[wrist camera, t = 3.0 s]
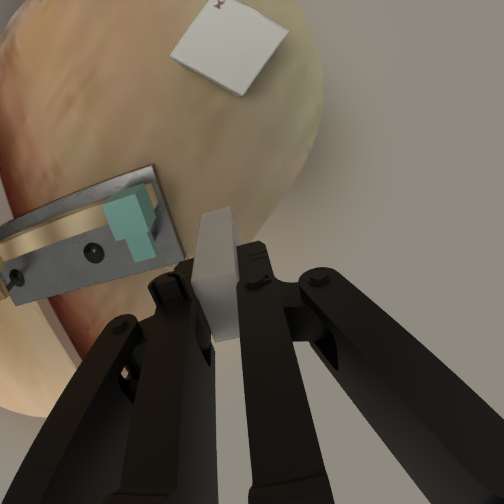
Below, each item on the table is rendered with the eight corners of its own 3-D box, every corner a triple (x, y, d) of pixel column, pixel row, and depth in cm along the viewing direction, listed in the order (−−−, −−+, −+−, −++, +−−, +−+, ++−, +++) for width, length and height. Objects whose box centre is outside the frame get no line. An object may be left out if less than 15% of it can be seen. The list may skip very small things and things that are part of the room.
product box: (179, 66, 25) (166, 55, 18) (216, 12, 23) (216, -13, 16) (237, 98, 27) (243, 98, 20) (274, 45, 25) (292, 30, 18)
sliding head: (140, 243, 30) (128, 270, 26) (119, 187, 28) (101, 205, 23) (169, 235, 30) (161, 261, 26) (148, 177, 28) (135, 193, 23)
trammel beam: (6, 284, 31) (-14, 307, 27) (-15, 243, 28) (-38, 263, 24) (169, 234, 31) (161, 258, 26) (149, 177, 28) (137, 193, 24)
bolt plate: (18, 301, 34) (15, 306, 33) (-17, 233, 29) (-21, 237, 28) (185, 256, 33) (184, 261, 32) (153, 163, 28) (151, 165, 28)
